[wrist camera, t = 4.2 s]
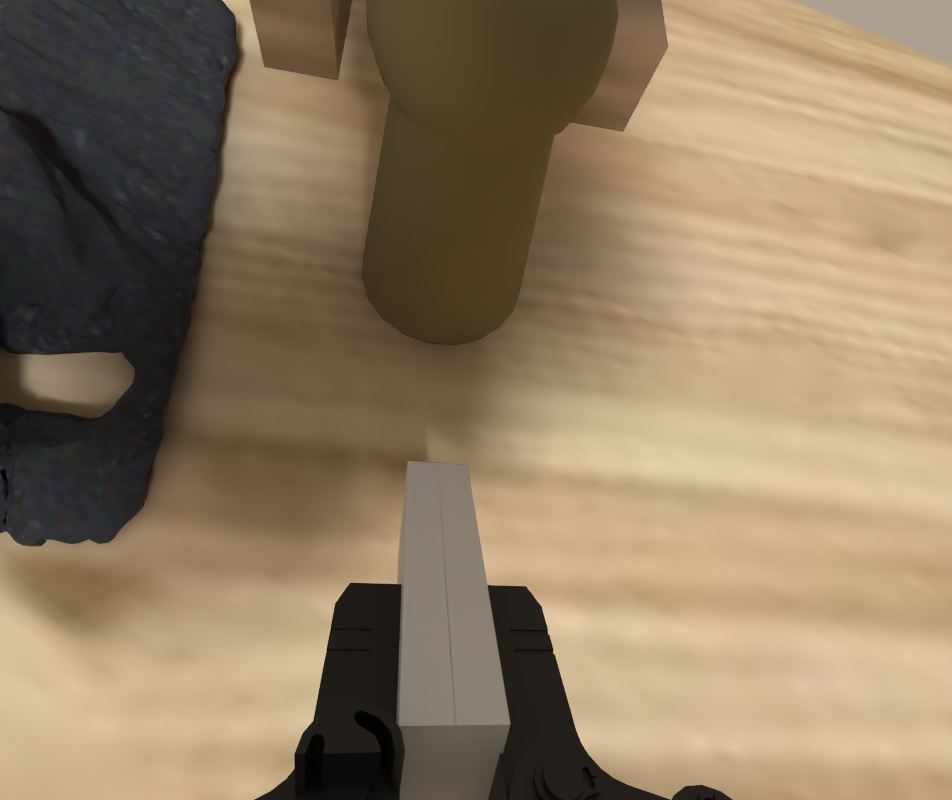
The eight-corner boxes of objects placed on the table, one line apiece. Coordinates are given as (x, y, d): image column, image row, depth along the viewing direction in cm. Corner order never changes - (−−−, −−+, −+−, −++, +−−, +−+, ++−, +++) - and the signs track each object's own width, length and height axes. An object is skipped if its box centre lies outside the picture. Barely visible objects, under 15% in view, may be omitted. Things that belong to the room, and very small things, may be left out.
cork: (336, 232, 19) (284, -173, 9) (476, 192, 21) (567, -182, 11) (402, 368, 18) (431, 70, 7) (547, 312, 19) (728, 12, 9)
